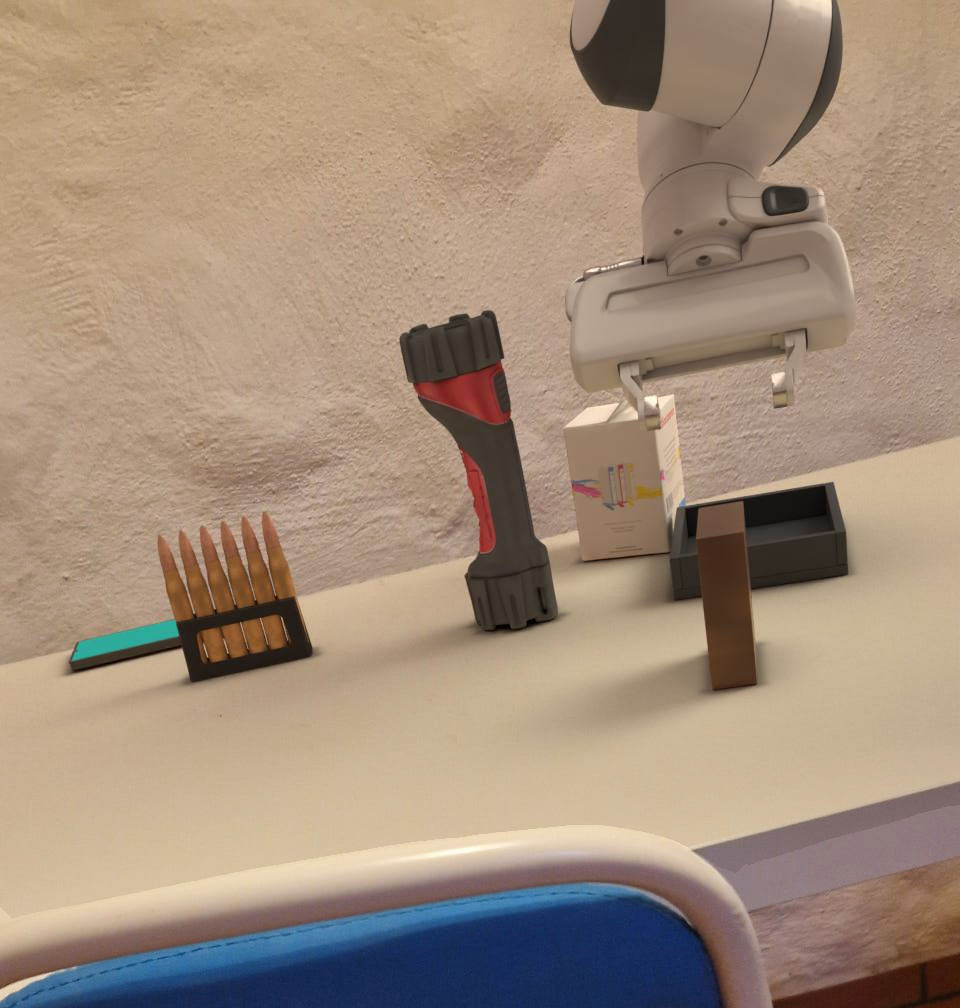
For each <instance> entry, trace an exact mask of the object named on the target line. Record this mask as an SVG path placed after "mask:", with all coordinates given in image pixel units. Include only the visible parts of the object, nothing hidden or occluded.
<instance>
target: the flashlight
mask: <svg viewBox="0 0 960 1008" xmlns="http://www.w3.org/2000/svg"><path fill="white" fill-rule="evenodd" d="M398 341H399V346H400V352H401V356H402V361H403V366H404V370H405V374H406V380H407V382H408V383H410V384H412V387H413V389H414V392H415V393H416V394H417V400H418V402H419V403H420V404H421V407H423V409H424V410H425V411H426V412H427V413H428V414H429V415H430V416H431V417H432V418H433V419H434V420H436V421H437V422H438V423H439V424H440V425H442V426H443V427H444V428H445V429H446V430H447V431H448V433H449V434H450V435H451V437H452V438H453V440H454V441H455V443H456V445H457V448H458V450H459V454H460V456H461V462H462V463H463V466H464V469H465V473H466V482H467V487H468V488H469V490H470V491H471V494H472V497H473V503H472V507H473V509H474V511H475V513H476V516H477V518H478V520H479V521H478V526H479V533H478V534H479V537H478V541H479V547H478V553H477V555H476V557H475V558H474V559H473V560H472V561H471V562H470V563H469V564H468V567H467V572H466V573H464V579H465V583H466V587H467V591H468V594H469V598H470V601H471V602H470V603H471V606H472V610H473V615H474V619H475V623H477V624H478V625H480V627H481V628H482V629H483V630H485V631H495V630H496V629H497V625H509V626H510V628H511V629H512V630H517V629H522V628H525V627H527V622H528V621H530V620H533V619H534V620H535V622H536V623H541V622H547V621H551V620H554V618H556V617H557V616H558V614H559V608H558V607H559V606H558V601H557V597H556V591H555V585H554V578H553V572H552V567H551V566H552V565H551V561H550V556H549V550H548V547H547V546H546V544H544V543H543V542H542V541H541V540H539V539H538V537H536V533H535V528H534V523H533V517H532V513H531V507H530V502H529V496H528V491H527V485H526V480H525V475H524V469H523V465H522V460H521V459H522V458H521V454H520V453H521V452H520V449H519V445H518V439H517V434H516V430H515V424H514V421H513V419H512V418H511V417H512V406H511V405H512V402H511V396H510V394H509V393H510V392H509V386H508V381H507V376H506V373H505V369H504V367H503V363H502V360H503V359H504V360H505V353H504V348H503V344H502V338H501V333H500V328H499V323H498V320H497V316H496V313H495V312H494V311H493V310H489V309H485V310H482V311H481V313H480V314H479V315H476V316H474V317H470V315H469V314H468V313H466V312H463V313H459V314H455V315H450V316H449V317H448V322H446V323H443V324H438V325H434V326H432V327H429V326H428V324H427V323H421V324H418V325H415V326H413V327H411V328H410V329H409V330H408V332H407V331H405V332H403V333H401V334H400V336H399V340H398Z"/></svg>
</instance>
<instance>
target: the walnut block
mask: <svg viewBox="0 0 960 1008" xmlns="http://www.w3.org/2000/svg"><path fill="white" fill-rule="evenodd" d="M696 545H697V554H698V564H699V573H700V582H701V592H702V596H701V600H702V609H703V617H704V619H703V620H704V628H705V637H706V647H707V655H708V663H709V673H710V682H711V683H710V684H711V690H712V691H715V690H723V689H730V688H737V687H745V686H751V685H752V686H753V685H757V684H758V668H757V667H758V664H757V642H756V631H755V619H754V610H753V596H752V589H751V584H750V573H749V562H748V551H747V539H746V528H745V517H744V506H743V501H740V502H734V503H727V504H721V505H715V506H709V507H703V508H699V510H698V522H697V533H696Z"/></svg>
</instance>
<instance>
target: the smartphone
mask: <svg viewBox="0 0 960 1008" xmlns="http://www.w3.org/2000/svg"><path fill="white" fill-rule="evenodd" d="M220 630H221V633H222V636H223V632H222V629H221V627H220ZM199 633H200V636H201V639H202V641H203V638H202V635H201V631H200V632H199ZM178 646H182V645H181V641H180V637H179V633H178V630H177V626H176V621H175V618H173V619H169V620H164V621H161V622H156V623H152V624H147V625H143V626H139V627H135V628H130V629H126V630H121V631H118V632H113V633H109V634H104V635H101V636H96V637H91V638H88V639H84V640H79V641H77V642H76V643H75V644H74V648H73V650H72V652H71V655H70V658H69V660H68V664H69V667H70V669H71V671H75V670H80V669H84V668H89V667H93V666H97V665H101V664H105V663H109V662H113V661H119V660H123V659H126V658H131V657H135V656H141V655H144V654H148V653H152V652H158V651H162V650H166V649H170V648H174V647H178Z"/></svg>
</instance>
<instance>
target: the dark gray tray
mask: <svg viewBox="0 0 960 1008" xmlns="http://www.w3.org/2000/svg"><path fill="white" fill-rule="evenodd" d="M740 501H743V506H744V517H745V528H746V539H747V551H748V562H749V573H750V584H751V590H752V589H758V588H764V587H771V586H778V585H784V584H793V583H797V582H804V581H805V582H807V581H812V580H819V579H825V578H831V577H833V578H834V577H839V576H845V575H849V562H848V561H849V559H848V558H849V557H848V542H847V541H848V537H847V530H846V525H845V523H844V518H843V514H842V510H841V506H840V501H839V498H838V494H837V490H836V486H835V482H834V481H828V482H825V483H823V482H822V483H816V484H810V485H804V486H798V487H794V488H793V487H792V488H785V489H780V490H774V491H768V492H763V493H756V494H755V493H754V494H750V495H744V496H738V497H732V498H726V499H719V500H714V501H713V500H712V501H707V502H700V503H694V504H689V505H686V507H685V506H683V507H677V509H676V516H675V524H674V531H673V538H672V546H671V551H670V552H669V553H670V554H669V567H670V575H671V576H670V577H671V584H672V594H673V600H674V601H678V600H685V599H693V598H698V597H702V592H701V582H700V573H699V564H698V554H697V545H696V533H697V522H698V510H699V508H703V507H709V506H715V505H721V504H727V503H734V502H740Z"/></svg>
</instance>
